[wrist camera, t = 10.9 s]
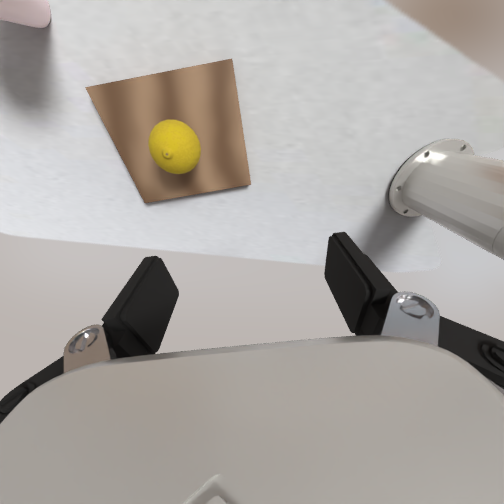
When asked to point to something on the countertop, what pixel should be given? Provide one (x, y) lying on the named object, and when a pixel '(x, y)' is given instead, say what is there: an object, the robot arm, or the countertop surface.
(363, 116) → the countertop surface
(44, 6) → the smoothie
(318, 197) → the countertop surface
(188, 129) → the lemon
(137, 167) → the cutting board
